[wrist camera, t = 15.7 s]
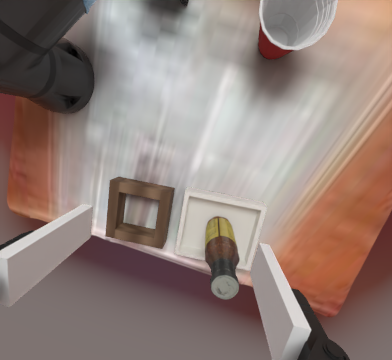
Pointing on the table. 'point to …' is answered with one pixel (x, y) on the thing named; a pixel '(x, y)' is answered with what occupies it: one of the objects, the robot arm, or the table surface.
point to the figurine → (184, 2)
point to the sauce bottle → (222, 257)
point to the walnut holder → (133, 232)
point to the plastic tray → (223, 207)
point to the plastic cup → (292, 24)
